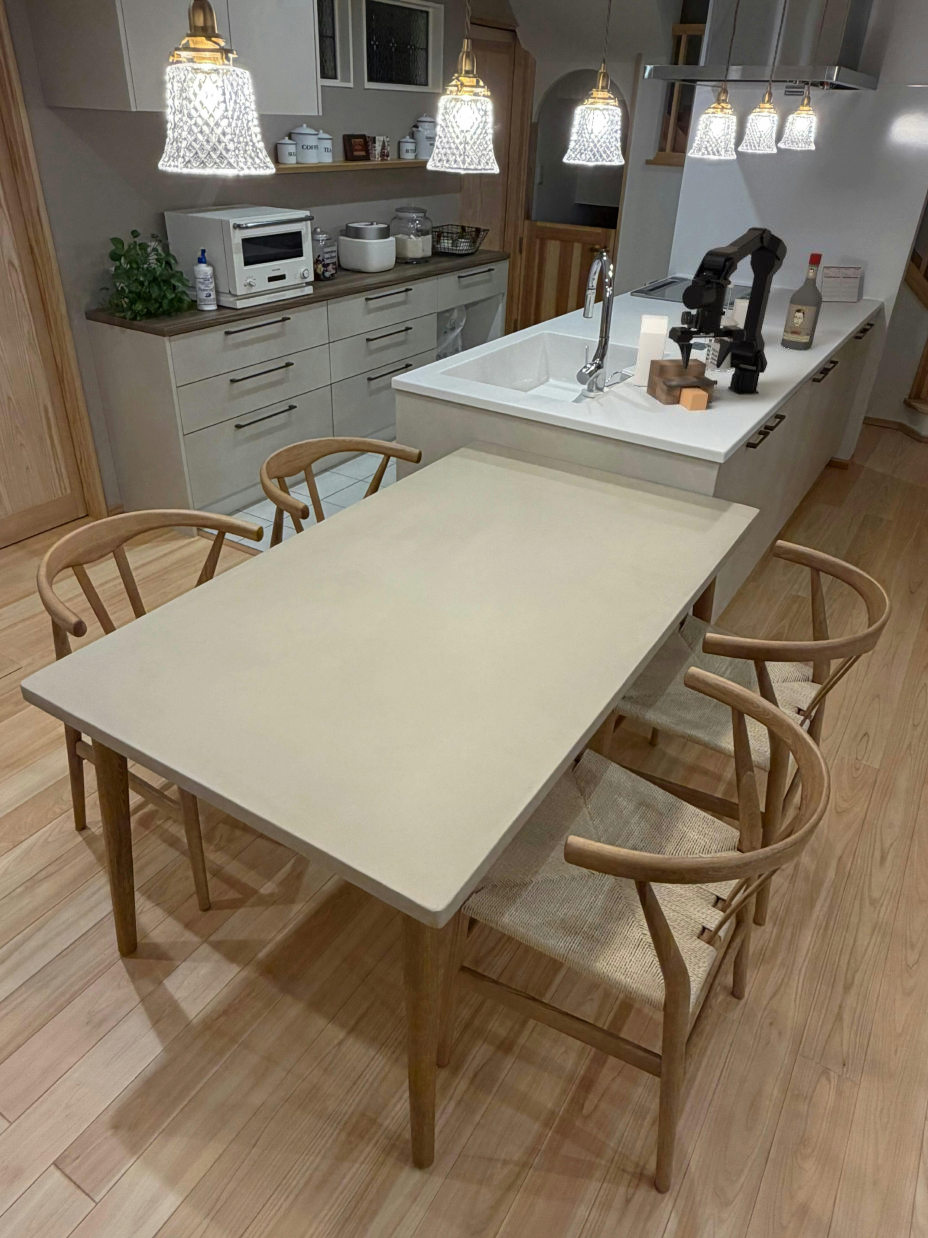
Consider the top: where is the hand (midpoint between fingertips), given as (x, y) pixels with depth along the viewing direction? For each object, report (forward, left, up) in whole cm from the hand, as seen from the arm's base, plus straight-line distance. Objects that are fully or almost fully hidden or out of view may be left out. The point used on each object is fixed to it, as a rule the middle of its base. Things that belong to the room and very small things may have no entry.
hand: (701, 368), depth 219 cm
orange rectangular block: (0, -3, -11) cm, 11 cm away
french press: (-27, -41, -11) cm, 51 cm away
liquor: (-70, -65, -11) cm, 96 cm away
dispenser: (0, -10, -10) cm, 15 cm away
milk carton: (+3, -25, -11) cm, 28 cm away
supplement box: (-50, -67, -11) cm, 85 cm away
